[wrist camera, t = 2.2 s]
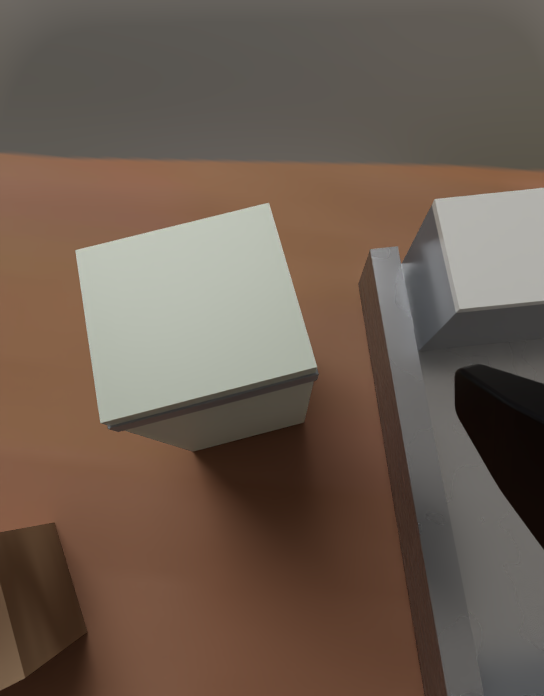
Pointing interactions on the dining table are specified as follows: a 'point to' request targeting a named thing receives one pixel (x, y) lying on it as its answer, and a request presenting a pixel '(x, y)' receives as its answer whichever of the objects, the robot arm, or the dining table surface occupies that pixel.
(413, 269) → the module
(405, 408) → the grey base plate
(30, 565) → the walnut block
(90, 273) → the block
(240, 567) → the dining table surface
